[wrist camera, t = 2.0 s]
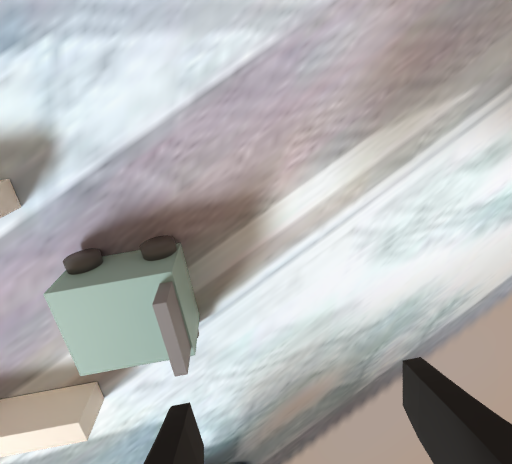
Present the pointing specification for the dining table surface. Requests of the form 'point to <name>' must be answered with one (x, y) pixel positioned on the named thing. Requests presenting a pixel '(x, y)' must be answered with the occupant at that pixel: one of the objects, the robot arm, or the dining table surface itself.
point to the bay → (45, 399)
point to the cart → (127, 308)
